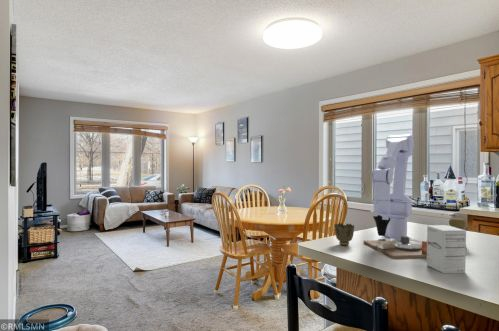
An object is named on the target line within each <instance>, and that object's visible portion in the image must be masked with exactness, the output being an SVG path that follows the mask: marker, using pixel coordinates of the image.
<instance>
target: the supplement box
mask: <svg viewBox="0 0 499 331" xmlns="http://www.w3.org/2000/svg"><path fill="white" fill-rule="evenodd" d="M426 227H427V228H426V229H427V230H426V233H427V235H426V241H427V258H426V265H427V267H431V268H433V269H434V270H436V271H438V272H440V273H441V274H466V253H467V230H465V229H464V230H462V229H459V228H455V227H452V226H450V225H449V224H448V225H447V224H446V225H443V224H442V225H441V224H440V225H439V224H434V225H426Z"/></svg>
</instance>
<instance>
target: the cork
mask: <svg viewBox="0 0 499 331" xmlns="http://www.w3.org/2000/svg"><path fill="white" fill-rule="evenodd" d="M448 226H452V227H455V228H459V229H462V230H465V226H466V221H465V219H463V218H460V217H451V218H449V220H448Z"/></svg>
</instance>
